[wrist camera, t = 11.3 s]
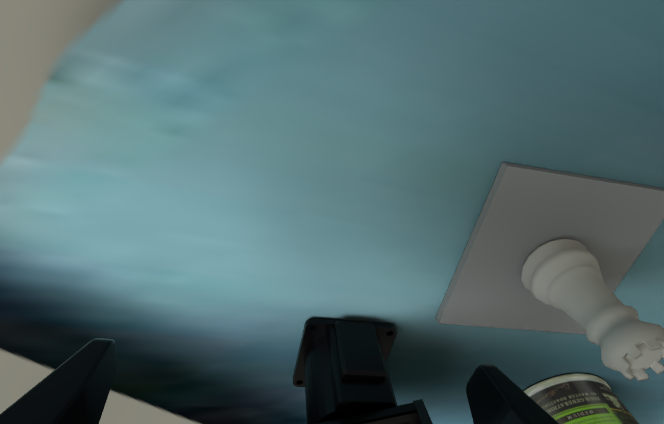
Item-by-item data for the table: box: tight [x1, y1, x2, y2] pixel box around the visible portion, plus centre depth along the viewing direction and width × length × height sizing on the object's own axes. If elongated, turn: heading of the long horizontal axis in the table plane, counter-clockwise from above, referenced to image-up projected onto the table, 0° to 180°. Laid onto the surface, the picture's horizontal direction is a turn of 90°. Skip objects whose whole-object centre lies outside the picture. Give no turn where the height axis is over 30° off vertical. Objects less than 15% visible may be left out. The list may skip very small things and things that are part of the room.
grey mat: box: [436, 162, 664, 334], centre depth 26 cm, size 12×12×1 cm
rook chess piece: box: [521, 239, 664, 381], centre depth 22 cm, size 4×4×8 cm
